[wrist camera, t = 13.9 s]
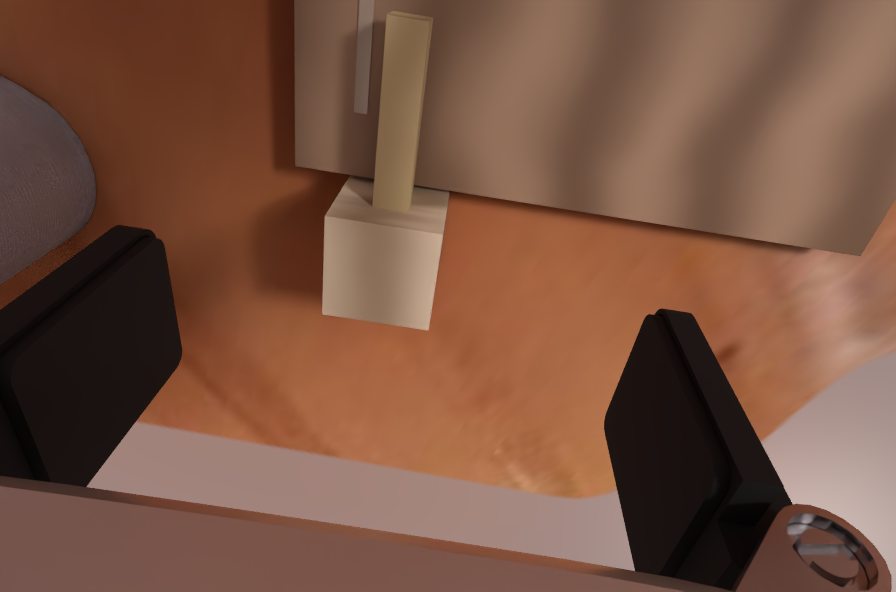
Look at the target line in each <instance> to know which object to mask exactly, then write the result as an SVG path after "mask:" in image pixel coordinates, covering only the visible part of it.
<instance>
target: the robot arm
mask: <svg viewBox="0 0 896 592" xmlns="http://www.w3.org/2000/svg"><path fill="white" fill-rule="evenodd" d="M181 356H182V346H181V340H180V334H179V328H178V322H177V316H176V311H175V305H174V299H173V293H172V287H171V281H170V275H169V270H168V264H167V258H166V252H165V247H164V243H163V242H162V240H160V239H157V238H156V236H155V234H154V233H153V232H152V231H151V230H148V229H141V228H135V227H128V226H122V225H117V226H115V227H113V228H112V229H110V230H109V231H108V232H106V233H105V234H103V235H102V236H101V237H99V238H98V239H97V240H95V241H94V242H93V243H91V244H90V245H88V246H87V247H86V248H84V249H83V250H82V251H80V252H79V253H78V254H76V255H75V256H73V257H72V258H71V259H69V260H68V261H67V262H65V263H64V264H63V265H61V266H60V267H58V268H57V269H56V270H54V271H53V272H52V273H50V274H49V275H48V276H46V277H45V278H43V279H42V280H41V281H39V282H38V283H37V284H35V285H34V286H32V287H31V288H30V289H28V290H27V291H26V292H24V293H23V294H22V295H20V296H19V297H17V298H16V299H15V300H13V301H12V302H11V303H9V304H8V305H7V306H5V307H4V308H2V309H1V310H0V592H891V574H890V571H889V569H888V567H887V564H886V562H885V560H884V559H883V557H882V556H881V554H880V553H879V551H878V550H877V549H876V548H875V546H874V545H873V544H872V543H871V542H870V541H869V540H868V539H867V538H866V537H865V536H864V535H863V534H862V533H861V532H860V531H859V530H857V529H856V528H855V527H853V526H852V525H850V524H849V523H848V522H846V521H845V520H844V519H842V518H840V517H838V516H836V515H834V514H832V513H831V512H829V511H827V510H824V509H821V508H817V507H814V506H811V505H801V504H794V505H793V504H792V502H791V500H790V498H789V497H788V495H787V493H786V491H785V489H784V486H783V484H782V482H781V480H780V478H779V476H778V474H777V472H776V471H775V469H774V467H773V465H772V463H771V461H770V460H769V457H768V455H767V454H766V452H765V450H764V448H763V446H762V444H761V442H760V440H759V438H758V437H757V435H756V433H755V431H754V429H753V427H752V425H751V423H750V421H749V420H748V418H747V416H746V414H745V412H744V410H743V408H742V406H741V404H740V403H739V401H738V399H737V397H736V395H735V393H734V391H733V389H732V387H731V386H730V384H729V382H728V380H727V378H726V376H725V374H724V372H723V370H722V369H721V367H720V365H719V363H718V361H717V359H716V357H715V355H714V353H713V352H712V350H711V348H710V346H709V344H708V342H707V340H706V338H705V336H704V335H703V333H702V331H701V329H700V327H699V325H698V323H697V321H696V319H695V318H694V316H693V315H692V314H691V313H687V312H681V311H674V310H668V309H659V310H658V311H657V312H656V313H655V315H651V314H649V315H647V316H646V317H645V319H644V321H643V324H642V326H641V328H640V331H639V333H638V336H637V338H636V341H635V343H634V346H633V348H632V351H631V353H630V356H629V358H628V361H627V363H626V366H625V368H624V370H623V373H622V375H621V378H620V380H619V383H618V385H617V388H616V390H615V393H614V395H613V398H612V400H611V403H610V405H609V408H608V410H607V413H606V416H605V422H604V430H605V436H606V440H607V445H608V450H609V454H610V459H611V463H612V468H613V472H614V477H615V481H616V486H617V490H618V495H619V499H620V504H621V509H622V513H623V518H624V522H625V527H626V531H627V536H628V540H629V545H630V550H631V554H632V558H633V563H634V568H635V571H630V570H625V569H619V568H613V567H607V566H602V565H596V564H590V563H584V562H578V561H572V560H567V559H560V558H554V557H547V556H541V555H534V554H528V553H521V552H515V551H509V550H502V549H496V548H490V547H483V546H477V545H470V544H464V543H457V542H451V541H444V540H438V539H432V538H425V537H419V536H412V535H406V534H399V533H392V532H386V531H379V530H372V529H366V528H360V527H352V526H346V525H340V524H333V523H326V522H319V521H313V520H306V519H300V518H293V517H286V516H280V515H272V514H266V513H259V512H253V511H246V510H240V509H233V508H226V507H219V506H212V505H206V504H199V503H191V502H185V501H178V500H171V499H164V498H157V497H150V496H143V495H136V494H129V493H122V492H116V491H109V490H102V489H95V488H88V487H86V486H87V485H88V484H89V482H90V481H91V480H92V478H93V477H94V476H95V474H96V473H97V472H98V471H99V469H100V468H101V466H102V465H103V464H104V463H105V461H106V460H107V459H108V457H109V456H110V455H111V453H112V452H113V451H114V450H115V448H116V447H117V446H118V444H119V443H120V442H121V440H122V439H123V438H124V436H125V435H126V434H127V432H128V431H129V430H130V428H131V427H132V426H133V425H134V423H135V422H136V421H137V419H138V418H139V417H140V415H141V414H142V413H143V411H144V410H145V409H146V407H147V406H148V405H149V404H150V402H151V401H152V400H153V398H154V397H155V396H156V394H157V393H158V392H159V390H160V389H161V388H162V386H163V385H164V384H165V382H166V381H167V380H168V379H169V377H170V376H171V375H172V373H173V372H174V371H175V369H176V368H177V366H178V365H179V363H180V360H181Z"/></svg>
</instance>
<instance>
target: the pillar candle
mask: <svg viewBox="0 0 896 592" xmlns="http://www.w3.org/2000/svg"><path fill="white" fill-rule="evenodd" d="M95 202H96V182H95V174H94V171H93V167H92V165H91V162H90V159H89V156H88V155H87V153H86V151H85V148H84V146H83V144H82V142H81V141H80V139H79V137H78V136H77V134H76V133H75V132H74V131H73V130H72V128H71V127H70V125H69V124H68V122H67V121H66V120H65V119H64V118H63V117H62V116H61V115H60V114H59V113H58V112H57V111H56V110H55V109H54V108H53V107H51V106H50V105H49V104H47V103H46V102H44V101H43V100H41V99H40V98H38V97H36V96H35V95H33V94H32V93H30V92H29V91H27V90H26V89H24V88H23V87H21V86H19V85H17V84H16V83H14V82H12V81H10V80H8V79H6V78H4V77H2V76H0V285H1V284H3V283H5V282H6V281H8V280H9V279H10V278H12V277H14V276H15V275H16V274H18V273H19V272H20V271H22V270H23V269H25V268H27V267H28V266H30V265H31V264H33V263H34V262H35V261H37V260H38V259H40V258H41V257H43V256H44V255H46V254H47V253H49V252H50V251H51V250H53V249H54V248H56V247H57V246H59V245H61V244H62V243H63V242H65V241H66V240H68V239H69V238H71V237H72V236H73V235H75V234H76V233H77V232H79V231H80V230H81V229H82V228H83V227H84V226H85V224H86V223H87V222H88V221H89V219H90V217H91V215H92V213H93V210H94V206H95Z"/></svg>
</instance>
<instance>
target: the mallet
mask: <svg viewBox="0 0 896 592" xmlns="http://www.w3.org/2000/svg"><path fill="white" fill-rule="evenodd" d="M432 23H433V17H427V16H421V15H415V14H409V13H403V12H397V11H392V12H390V13H389V14H387V19H386V33H385V46H384V59H383V72H382V85H381V99H380V112H379V125H378V138H377V151H376V165H375V178H374V179H373V178H367V177H361V176H354V175H350V176H349V178H348V179H347V181H346V183H345V184H344V186H343V187H342V189H341V191H340V192H339V194H338V196H337V197H336V199H335V200H334V202H333V204H332V205H331V207H330V208H329V210H328V212H327V213H326V215H325V225H324V263H323V301H322V314H324V315H331V316H337V317H344V318H350V319H357V320H363V321H370V322H377V323H383V324H390V325H396V326H403V327H409V328H416V329H422V330H429V323H430V317H431V310H432V304H433V297H434V291H435V284H436V278H437V271H438V265H439V259H440V252H441V246H442V239H443V233H444V226H445V220H446V213H447V207H448V200H449V194H450V191H448V190H442V189H436V188H429V187H423V186H417V185H414V178H415V170H416V161H417V152H418V144H419V135H420V127H421V118H422V109H423V101H424V92H425V84H426V75H427V66H428V58H429V49H430V41H431V32H432Z"/></svg>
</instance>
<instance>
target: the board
mask: <svg viewBox="0 0 896 592" xmlns="http://www.w3.org/2000/svg"><path fill="white" fill-rule="evenodd" d="M392 11H397V12H403V13H409V14H415V15H421V16H427V17H433V23H432V32H431V41H430V49H429V58H428V66H427V75H426V84H425V92H424V101H423V109H422V118H421V127H420V135H419V144H418V152H417V161H416V170H415V178H414V185H417V186H423V187H429V188H436V189H442V190H448V191H455V192H461V193H467V194H473V195H480V196H486V197H492V198H498V199H505V200H511V201H517V202H524V203H530V204H536V205H542V206H549V207H555V208H561V209H567V210H574V211H580V212H586V213H592V214H599V215H605V216H611V217H618V218H624V219H630V220H636V221H643V222H649V223H655V224H661V225H668V226H674V227H680V228H687V229H693V230H699V231H705V232H712V233H718V234H724V235H730V236H737V237H743V238H749V239H755V240H762V241H768V242H774V243H781V244H787V245H793V246H799V247H806V248H812V249H818V250H824V251H831V252H837V253H843V254H850V255H856V256H861V254H862V253H863V251H864V250H865V248H866V246H867V245H868V243H869V241H870V240H871V238H872V237H873V235H874V233H875V232H876V230H877V229H878V227H879V225H880V224H881V222H882V220H883V219H884V217H885V216H886V214H887V212H888V211H889V209H890V208H891V206H892V204H893V203H894V201H895V199H896V0H294V47H295V166H298V167H304V168H310V169H317V170H323V171H329V172H335V173H342V174H348V175H354V176H361V177H367V178H373V179H374V178H375V165H376V151H377V138H378V125H379V112H380V99H381V85H382V72H383V59H384V46H385V33H386V19H387V14H389V13H390V12H392Z"/></svg>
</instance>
